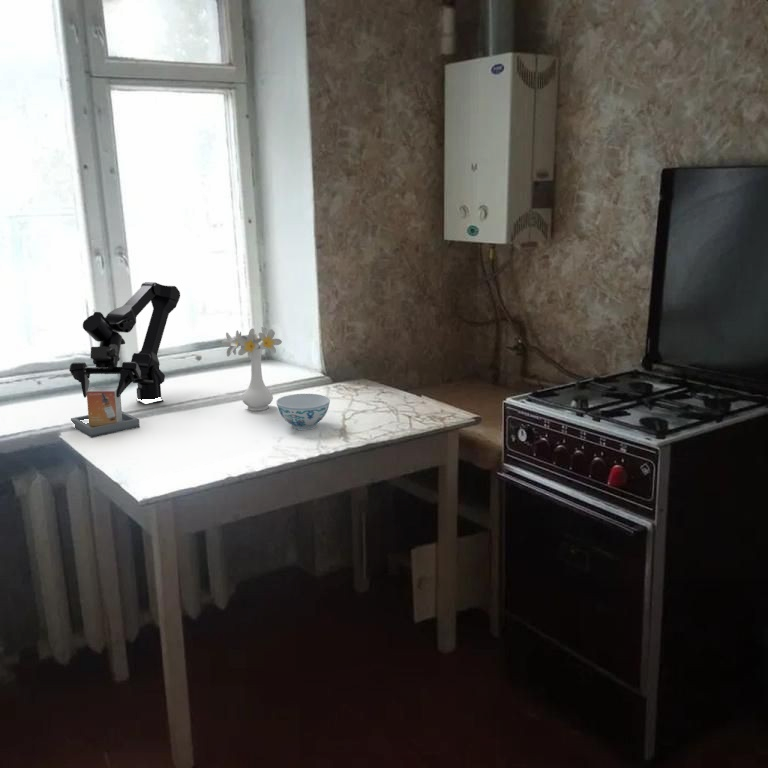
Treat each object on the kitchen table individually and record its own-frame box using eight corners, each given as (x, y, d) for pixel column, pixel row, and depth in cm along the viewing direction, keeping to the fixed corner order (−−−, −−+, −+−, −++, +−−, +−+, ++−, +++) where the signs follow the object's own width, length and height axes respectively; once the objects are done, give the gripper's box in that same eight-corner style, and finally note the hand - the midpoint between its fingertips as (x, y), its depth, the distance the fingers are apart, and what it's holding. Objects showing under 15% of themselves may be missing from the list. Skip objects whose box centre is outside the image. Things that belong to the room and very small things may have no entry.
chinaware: (303, 416, 240) (303, 390, 238) (341, 425, 230) (340, 399, 228) (266, 427, 228) (265, 401, 226) (304, 438, 219) (303, 410, 217)
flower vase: (234, 401, 255) (230, 323, 249) (290, 404, 252) (287, 325, 246) (219, 413, 243) (214, 331, 237) (277, 416, 240) (274, 333, 233)
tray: (118, 417, 239) (117, 409, 239) (139, 427, 229) (138, 419, 229) (71, 426, 230) (70, 418, 230) (91, 437, 220) (90, 429, 220)
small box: (89, 427, 227) (85, 391, 224) (95, 421, 232) (91, 386, 230) (117, 427, 227) (114, 390, 224) (123, 421, 232) (120, 385, 230)
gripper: (68, 334, 227) (58, 382, 219) (134, 334, 227) (127, 381, 219) (80, 356, 236) (70, 402, 228) (144, 355, 237) (137, 401, 229)
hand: (101, 396), depth 226 cm, fingers open, 9 cm apart
